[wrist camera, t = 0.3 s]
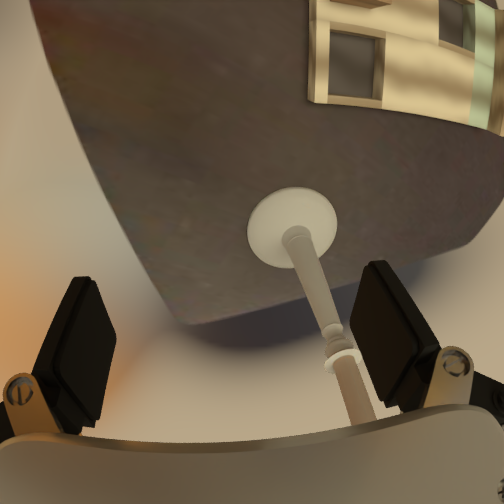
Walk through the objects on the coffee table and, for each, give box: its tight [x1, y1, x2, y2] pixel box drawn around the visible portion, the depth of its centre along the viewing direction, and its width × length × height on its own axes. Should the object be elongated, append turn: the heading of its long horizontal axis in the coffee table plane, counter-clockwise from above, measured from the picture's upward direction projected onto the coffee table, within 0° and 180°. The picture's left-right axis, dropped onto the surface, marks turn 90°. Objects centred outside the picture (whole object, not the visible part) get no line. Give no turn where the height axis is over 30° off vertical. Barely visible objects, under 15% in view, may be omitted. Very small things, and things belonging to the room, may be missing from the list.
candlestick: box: [247, 187, 377, 426], centre depth 32 cm, size 13×13×30 cm
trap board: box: [308, 0, 504, 137], centre depth 27 cm, size 20×29×6 cm
